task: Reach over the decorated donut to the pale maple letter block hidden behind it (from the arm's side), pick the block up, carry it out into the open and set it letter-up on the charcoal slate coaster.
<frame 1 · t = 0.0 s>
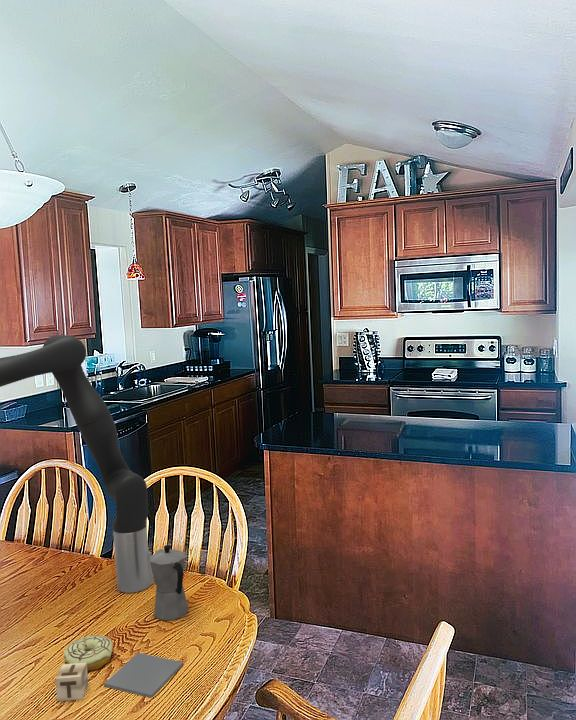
slate coaster: (144, 675, 135), on the table
letter block: (73, 692, 131), on the table
decorated donut: (89, 661, 142), on the table
coffeepot: (172, 614, 161), on the table
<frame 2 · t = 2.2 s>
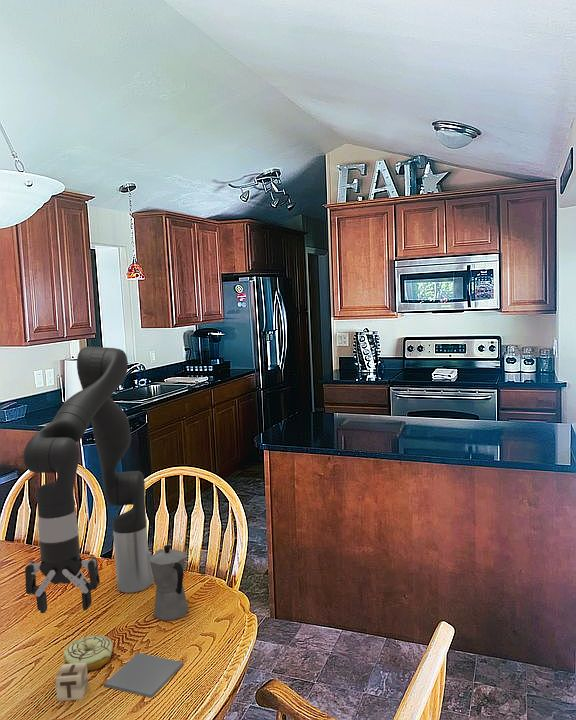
hand: (65, 610, 129), 18 cm above the table, fingers open, 8 cm apart
nothing on the table moved.
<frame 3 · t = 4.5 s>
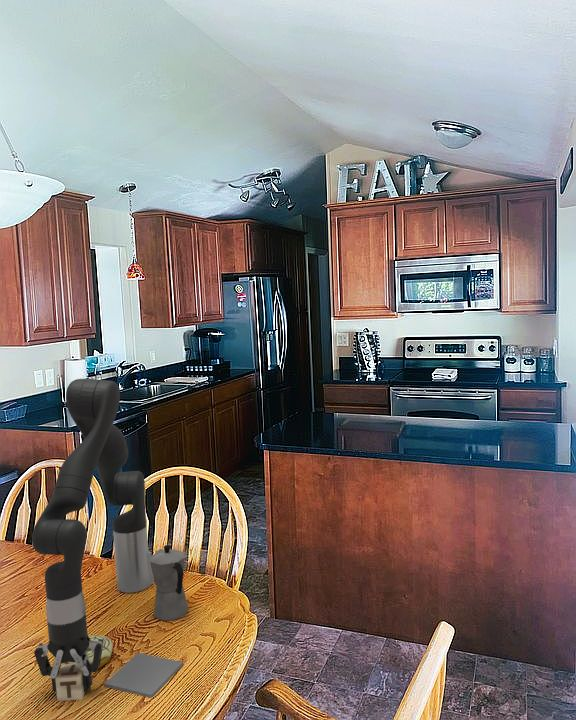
hand: (73, 690, 130), 0 cm above the table, fingers closed on letter block, 5 cm apart
letter block: (73, 692, 131), on the table, touching gripper
everything else where it was.
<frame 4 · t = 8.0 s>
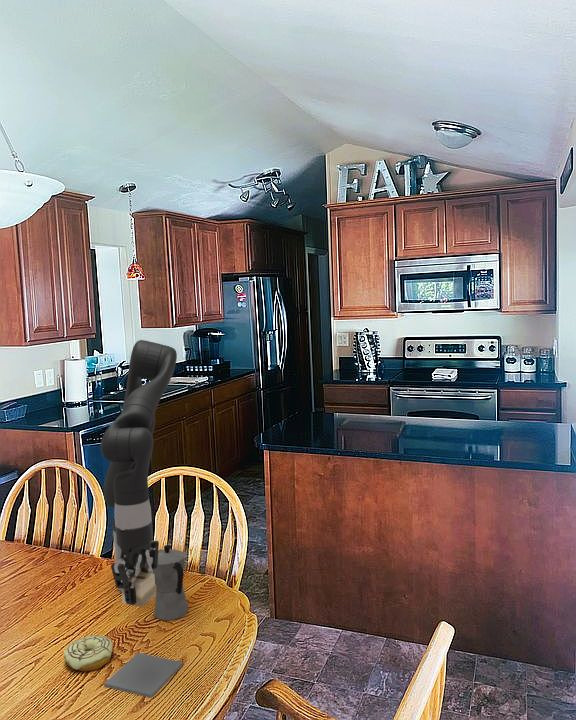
hand: (139, 597, 134), 18 cm above the table, fingers closed on letter block, 5 cm apart
letter block: (139, 599, 134), point 17 cm above the table, touching gripper
everything else where it was.
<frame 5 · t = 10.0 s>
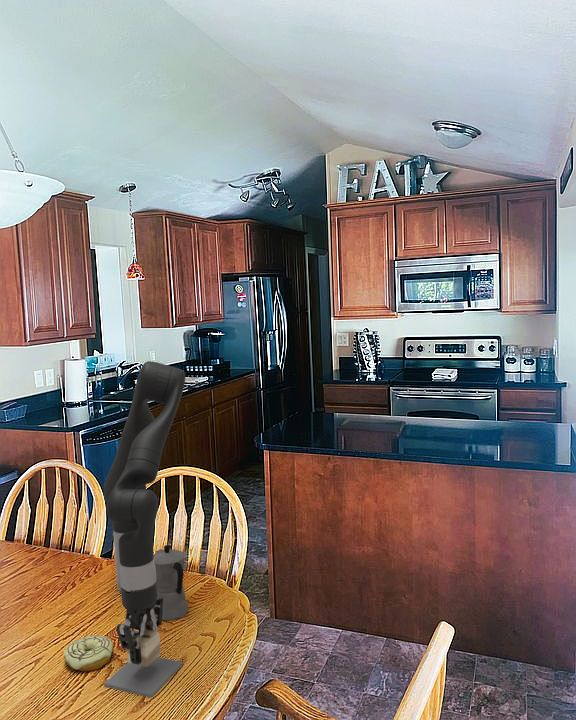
hand: (144, 655, 135), 4 cm above the table, fingers closed on letter block, 5 cm apart
letter block: (144, 657, 135), point 4 cm above the table, touching gripper
everything else where it was.
when the fingers open (2 cm above the table, at t = 11.5 s): letter block stays where it is, resting on slate coaster.
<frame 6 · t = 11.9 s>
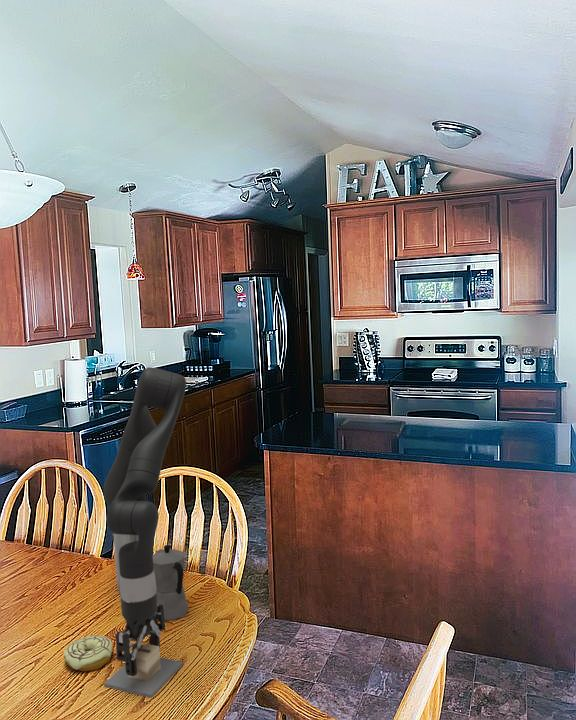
hand: (143, 663, 135), 3 cm above the table, fingers open, 8 cm apart
letter block: (144, 672, 135), point 1 cm above the table, touching slate coaster
everything else where it was.
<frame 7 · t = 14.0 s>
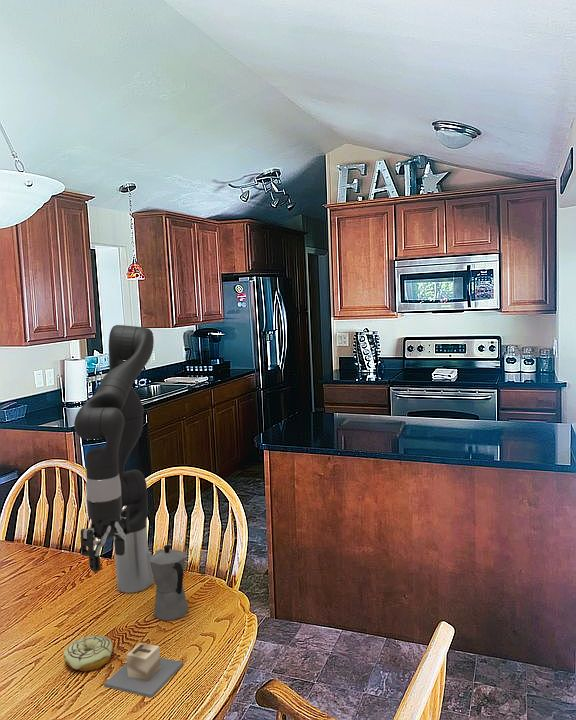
hand: (108, 562, 143), 22 cm above the table, fingers open, 8 cm apart
nothing on the table moved.
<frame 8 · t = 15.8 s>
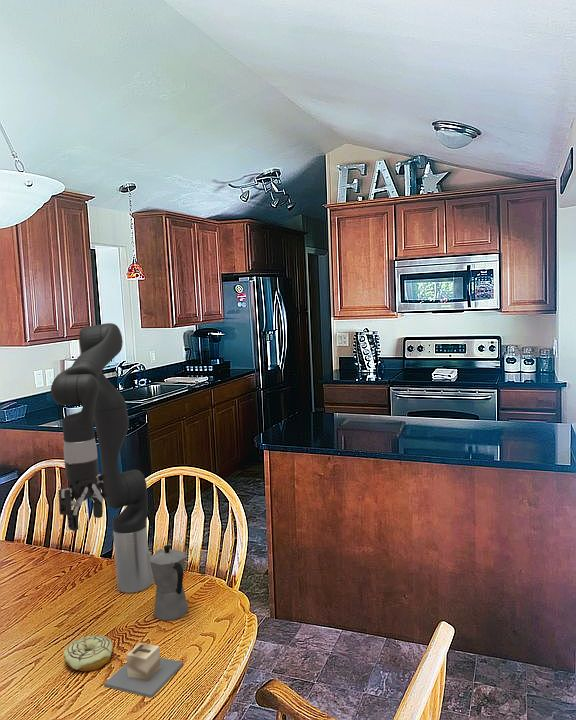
hand: (86, 523, 150), 28 cm above the table, fingers open, 8 cm apart
nothing on the table moved.
at the end: letter block inside the target area on the slate coaster (0.1 cm from its centre), point 0.6 cm above the slate coaster's base; letter block tilted 0°; the gripper is holding nothing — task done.
